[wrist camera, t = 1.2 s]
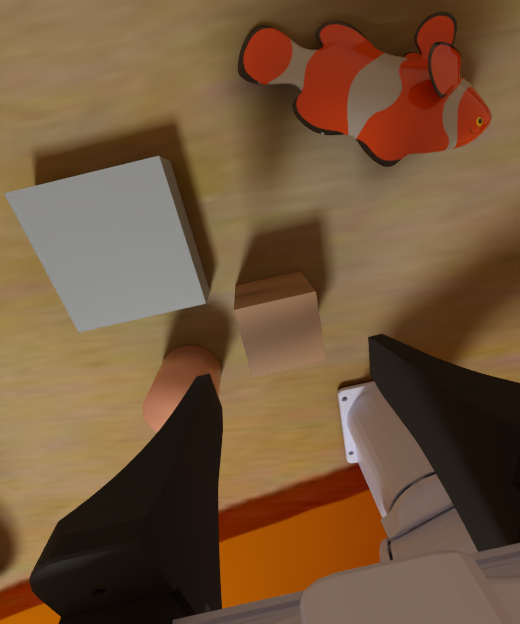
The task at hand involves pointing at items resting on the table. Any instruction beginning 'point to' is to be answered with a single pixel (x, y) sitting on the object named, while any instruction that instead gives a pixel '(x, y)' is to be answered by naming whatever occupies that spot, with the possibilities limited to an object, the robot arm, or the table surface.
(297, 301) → the walnut cube
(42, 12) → the table surface
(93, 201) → the slate slab
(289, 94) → the table surface
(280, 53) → the fish
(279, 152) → the table surface
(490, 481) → the robot arm
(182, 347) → the terracotta cylinder
